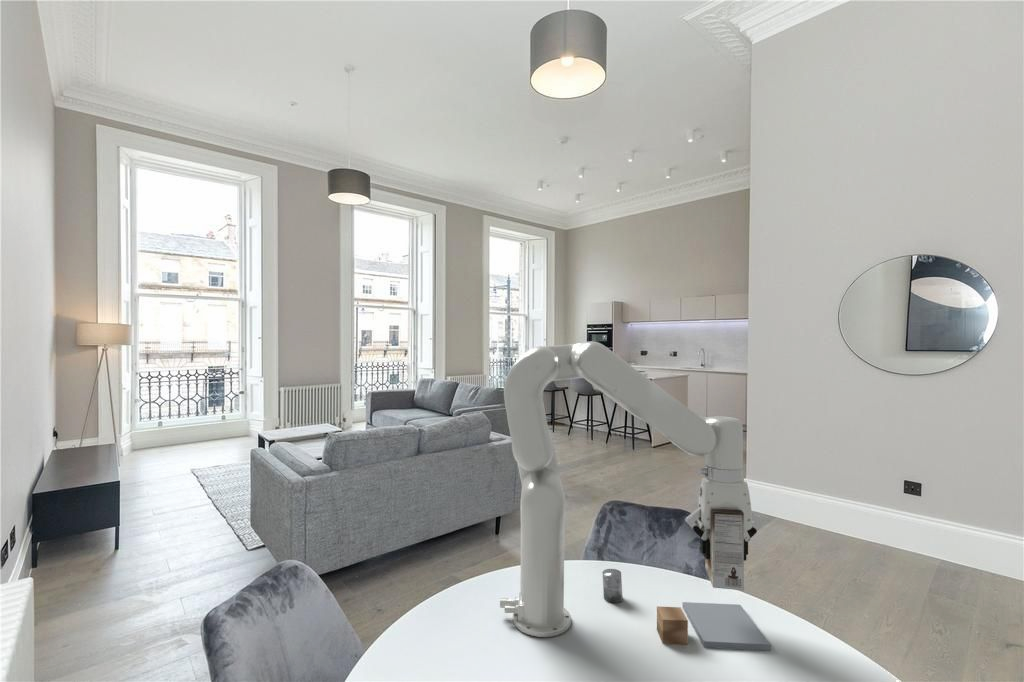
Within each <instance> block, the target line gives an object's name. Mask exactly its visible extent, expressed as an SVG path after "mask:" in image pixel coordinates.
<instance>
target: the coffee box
mask: <svg viewBox="0 0 1024 682" xmlns="http://www.w3.org/2000/svg"><path fill="white" fill-rule="evenodd" d="M708 540H709V541H710V559H706V558H705V557H704V560H705V561H704V563H705V566H704V567H705V570H706V573H707V576H708V578H709V581H710V583H711V586H712V588H714V589H723V590H733V591H734V590H735V591H744V590H745V589H744V587H745V586H744V584H745V583H744V582H745V577H744V575H745V574H744V571H745V570H744V569H745V568H744V567H745V563H744V562H745V561H744V513H743V512H742V510H729V509H728V510H727V509H712V510H711V530H710V535H709V537H708Z"/></svg>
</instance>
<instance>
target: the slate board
mask: <svg viewBox="0 0 1024 682" xmlns="http://www.w3.org/2000/svg"><path fill="white" fill-rule="evenodd" d="M682 610H683V612H684V614H685V616H686V618H687V620H688V621H689V622H690V624H691V627H692V628H693V630H694V631H695V634H696V636H697V637H698V640H699V641H700V643H701V645H702V647H703V648H710V649H733V650H751V651H752V650H753V651H771V649H772V647H771V646H772V645H771V643H770V641H769V640H768V639H767V638H766V636H765V635H764V634H763V633H762V631H761V630H760V629H759V627H758V626H757V624H756V623H755V622H754V621H753V619H752V618H751V617H750V615H749V614H748V613H747V612H746V610H745V609H744V607H743V606H742V604H735V603H734V604H733V603H713V602H711V603H709V602H692V601H691V602H687V601H682Z"/></svg>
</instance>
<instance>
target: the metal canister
mask: <svg viewBox="0 0 1024 682" xmlns="http://www.w3.org/2000/svg"><path fill="white" fill-rule="evenodd" d="M601 573H602V586H603V589H602V590H603V599H604V601H606V602H607V601H608V603H610V602H611V603H612V604H616V603H617V604H618V603H620V602H622V601H623V584H622V583H623V582H622V580H623V578H622V572H621V571H620V569H616V568H606V569H604V570H603V571H602V572H601Z"/></svg>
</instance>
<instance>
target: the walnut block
mask: <svg viewBox="0 0 1024 682" xmlns="http://www.w3.org/2000/svg"><path fill="white" fill-rule="evenodd" d="M688 629H689V619H688V617H687V615H686V613H685V612H684V610H683V608H682V607H680V606H656V631H657V633H658V636H659V638H660V640H661V644H662V645H675V646H676V645H677V646H688V645H689V644H688V643H689V641H688V640H689V639H688V637H689V635H688V632H689V630H688Z"/></svg>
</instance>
